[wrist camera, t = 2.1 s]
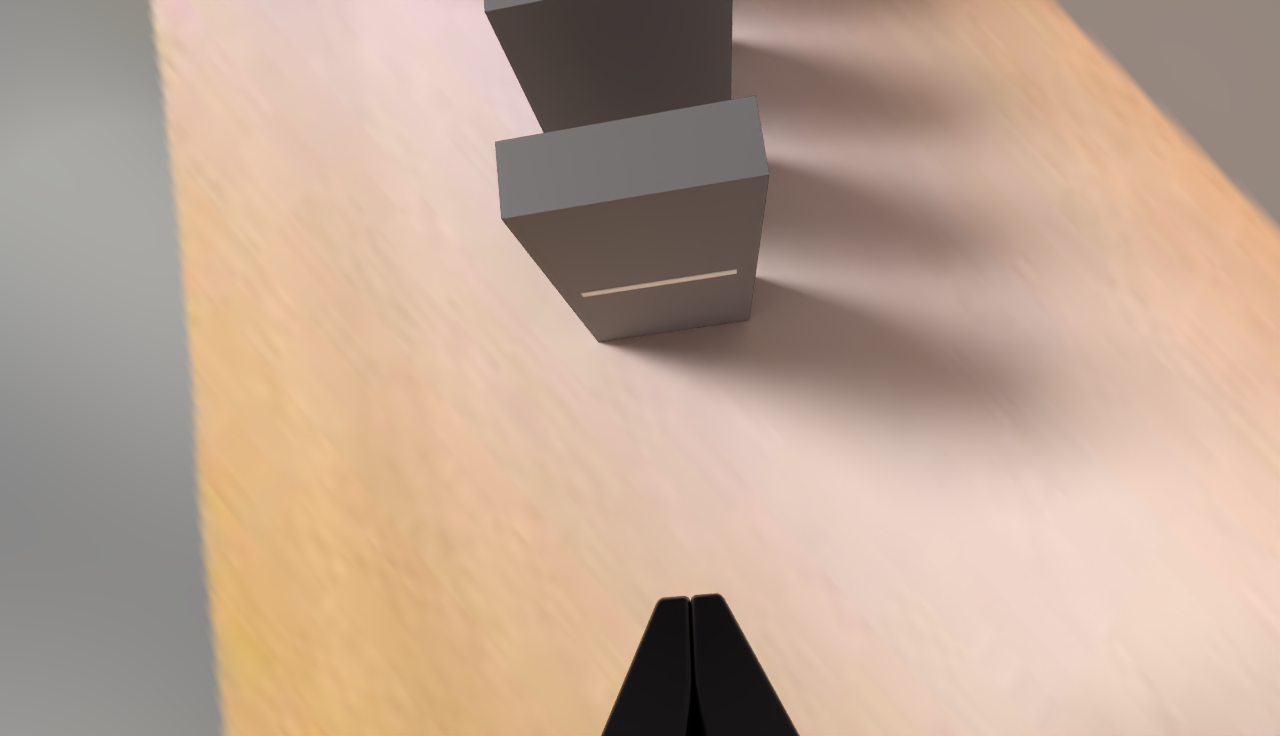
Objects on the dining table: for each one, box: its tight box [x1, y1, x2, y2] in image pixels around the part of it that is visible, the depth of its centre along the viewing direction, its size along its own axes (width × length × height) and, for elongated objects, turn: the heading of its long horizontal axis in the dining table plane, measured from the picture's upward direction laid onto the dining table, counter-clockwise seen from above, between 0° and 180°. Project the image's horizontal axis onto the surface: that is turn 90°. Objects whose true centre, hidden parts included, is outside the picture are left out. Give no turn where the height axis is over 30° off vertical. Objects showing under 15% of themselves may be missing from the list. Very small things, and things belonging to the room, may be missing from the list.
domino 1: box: [484, 0, 732, 133], centre depth 18 cm, size 2×5×10 cm, turn 97°
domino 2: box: [495, 96, 769, 342], centre depth 17 cm, size 2×5×10 cm, turn 97°
